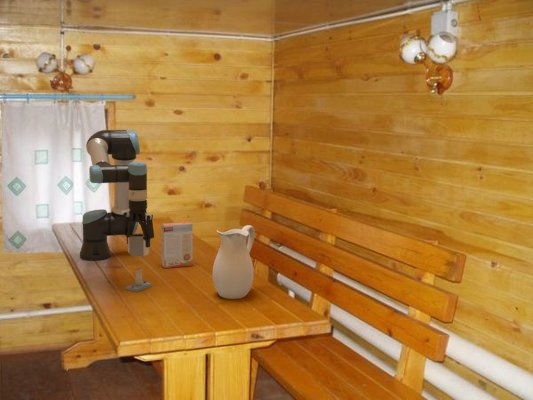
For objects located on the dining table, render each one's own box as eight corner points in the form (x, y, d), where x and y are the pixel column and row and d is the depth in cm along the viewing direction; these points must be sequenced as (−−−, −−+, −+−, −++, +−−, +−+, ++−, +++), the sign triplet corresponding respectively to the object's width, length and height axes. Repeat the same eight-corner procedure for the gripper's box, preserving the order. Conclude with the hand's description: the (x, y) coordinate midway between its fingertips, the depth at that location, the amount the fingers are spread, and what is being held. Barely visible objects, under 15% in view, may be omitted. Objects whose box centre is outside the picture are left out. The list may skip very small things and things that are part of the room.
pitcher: (238, 304, 252) (239, 235, 247) (203, 296, 261) (204, 229, 256) (269, 289, 272) (271, 225, 267) (237, 282, 281) (238, 220, 276)
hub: (125, 254, 266) (125, 235, 265) (137, 250, 273) (137, 232, 271) (139, 256, 263) (139, 237, 262) (151, 253, 269) (151, 234, 268)
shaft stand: (125, 289, 267) (125, 271, 266) (140, 283, 276) (140, 265, 275) (136, 291, 264) (136, 273, 263) (152, 285, 273) (151, 267, 272)
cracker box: (189, 263, 311) (189, 221, 308) (192, 266, 306) (193, 223, 302) (161, 265, 306) (160, 222, 302) (164, 268, 300) (163, 225, 297)
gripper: (112, 198, 265) (113, 252, 269) (151, 203, 256) (152, 258, 260) (124, 196, 272) (125, 248, 276) (163, 200, 263) (163, 254, 266)
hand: (138, 253), depth 268 cm, fingers closed on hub, 7 cm apart
